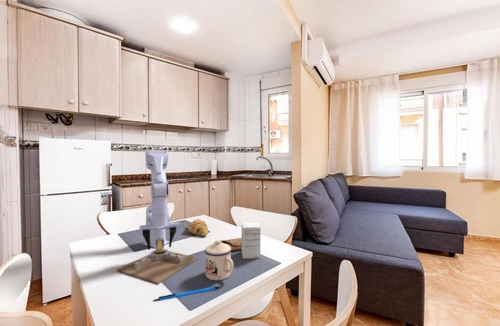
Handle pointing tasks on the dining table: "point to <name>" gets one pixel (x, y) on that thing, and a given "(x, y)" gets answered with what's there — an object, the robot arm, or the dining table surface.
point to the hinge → (158, 258)
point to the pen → (185, 293)
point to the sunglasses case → (234, 244)
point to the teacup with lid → (218, 261)
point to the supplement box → (251, 240)
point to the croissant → (198, 227)
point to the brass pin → (160, 246)
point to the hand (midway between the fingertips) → (159, 247)
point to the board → (157, 268)
